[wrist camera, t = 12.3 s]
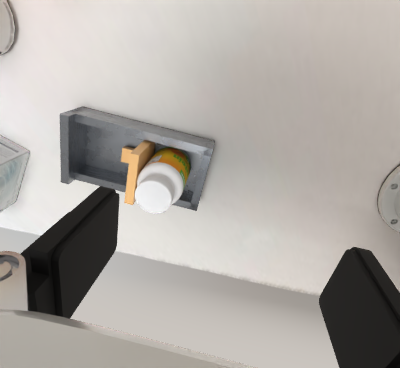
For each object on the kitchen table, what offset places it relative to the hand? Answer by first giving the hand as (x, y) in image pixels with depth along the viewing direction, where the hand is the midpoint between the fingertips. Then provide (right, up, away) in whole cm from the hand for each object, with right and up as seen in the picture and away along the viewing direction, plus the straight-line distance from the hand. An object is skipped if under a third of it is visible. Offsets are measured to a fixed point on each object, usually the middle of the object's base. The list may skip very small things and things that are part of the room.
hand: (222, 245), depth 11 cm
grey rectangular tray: (-9, +7, +25) cm, 28 cm away
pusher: (-9, +6, +25) cm, 27 cm away
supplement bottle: (-5, +5, +25) cm, 26 cm away
